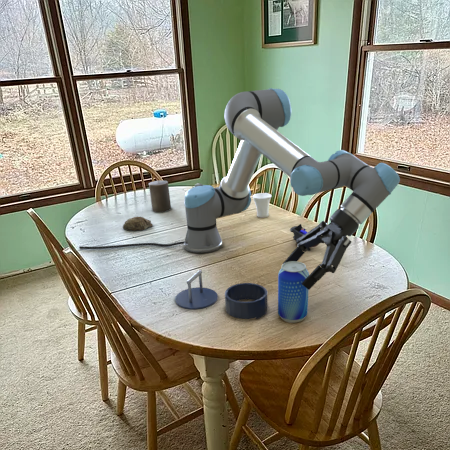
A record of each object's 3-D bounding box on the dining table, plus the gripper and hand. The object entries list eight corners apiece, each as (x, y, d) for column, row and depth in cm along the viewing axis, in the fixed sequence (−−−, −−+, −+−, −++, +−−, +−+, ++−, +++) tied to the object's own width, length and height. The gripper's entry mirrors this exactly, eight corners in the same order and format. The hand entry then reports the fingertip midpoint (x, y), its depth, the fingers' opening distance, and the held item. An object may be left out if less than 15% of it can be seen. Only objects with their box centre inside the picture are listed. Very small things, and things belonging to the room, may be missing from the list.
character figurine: (301, 238, 181) (321, 251, 169) (286, 240, 179) (304, 253, 166) (303, 220, 178) (323, 232, 165) (287, 222, 175) (307, 234, 163)
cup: (275, 214, 210) (275, 193, 205) (266, 219, 203) (265, 198, 198) (258, 211, 214) (258, 191, 209) (249, 217, 208) (248, 196, 203)
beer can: (274, 321, 126) (274, 270, 118) (282, 307, 133) (283, 258, 125) (303, 326, 123) (305, 274, 115) (310, 311, 130) (312, 261, 122)
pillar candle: (169, 212, 221) (166, 182, 214) (150, 212, 222) (146, 183, 214) (172, 206, 230) (169, 177, 223) (153, 207, 230) (149, 178, 223)
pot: (218, 316, 130) (217, 298, 127) (236, 297, 140) (235, 280, 137) (258, 323, 125) (258, 305, 122) (273, 303, 135) (273, 286, 132)
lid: (167, 306, 136) (164, 281, 132) (188, 287, 147) (186, 263, 143) (205, 314, 131) (203, 288, 127) (224, 294, 142) (223, 269, 137)
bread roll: (119, 230, 201) (117, 219, 199) (133, 221, 211) (132, 211, 209) (144, 232, 197) (142, 221, 194) (157, 223, 207) (156, 213, 204)
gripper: (383, 240, 109) (323, 304, 113) (336, 211, 130) (287, 265, 134) (366, 223, 105) (305, 289, 109) (320, 196, 126) (270, 252, 130)
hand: (295, 276), depth 122 cm, fingers open, 13 cm apart
